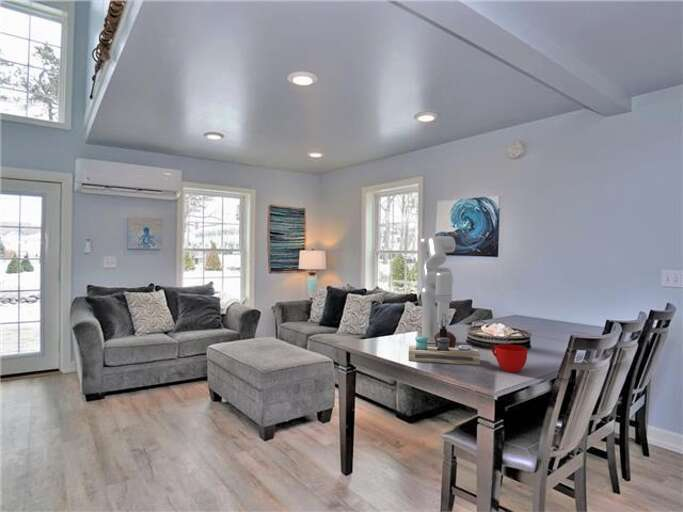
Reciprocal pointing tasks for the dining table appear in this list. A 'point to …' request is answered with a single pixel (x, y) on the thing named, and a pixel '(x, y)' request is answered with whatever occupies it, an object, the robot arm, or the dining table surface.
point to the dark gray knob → (443, 344)
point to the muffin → (449, 335)
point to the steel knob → (464, 348)
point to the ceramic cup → (510, 357)
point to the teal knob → (421, 343)
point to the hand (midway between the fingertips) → (443, 337)
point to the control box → (444, 356)
